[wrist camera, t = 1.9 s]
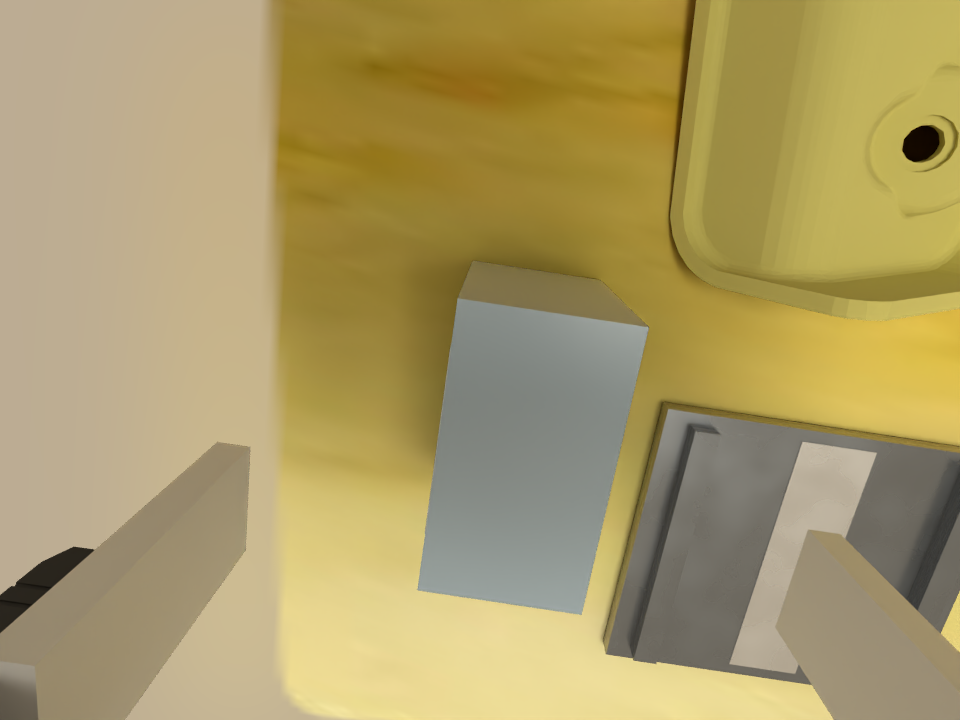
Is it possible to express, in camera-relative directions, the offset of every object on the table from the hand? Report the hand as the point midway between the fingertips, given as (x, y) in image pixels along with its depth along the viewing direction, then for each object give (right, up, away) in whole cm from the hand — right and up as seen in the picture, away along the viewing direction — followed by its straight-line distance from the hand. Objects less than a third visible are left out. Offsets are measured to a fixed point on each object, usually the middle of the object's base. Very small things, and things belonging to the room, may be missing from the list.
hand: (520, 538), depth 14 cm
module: (+1, +3, +10) cm, 11 cm away
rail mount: (+13, -4, +12) cm, 18 cm away
